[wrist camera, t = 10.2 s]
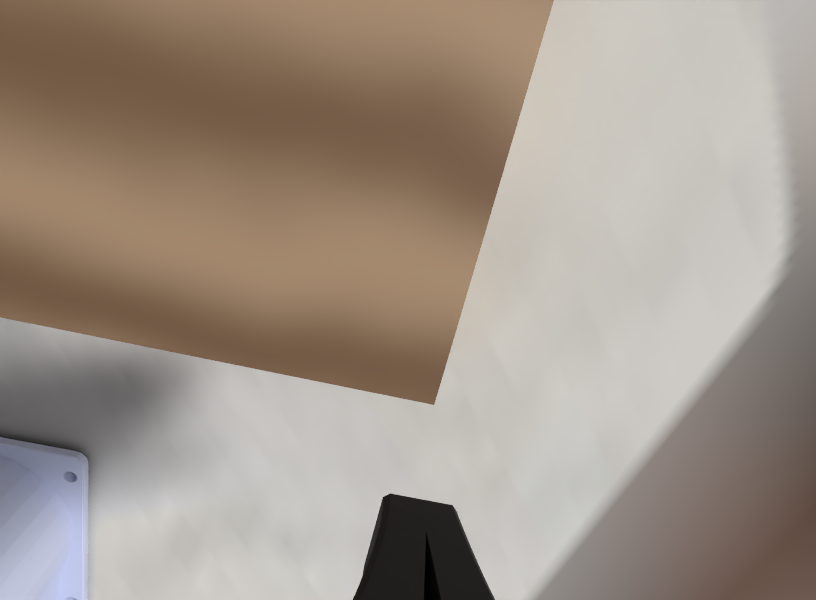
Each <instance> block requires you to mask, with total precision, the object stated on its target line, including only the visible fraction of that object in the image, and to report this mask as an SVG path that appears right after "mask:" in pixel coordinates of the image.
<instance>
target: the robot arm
mask: <svg viewBox="0 0 816 600" xmlns="http://www.w3.org/2000/svg"><path fill="white" fill-rule="evenodd" d="M71 472H72V473H74V474H75V475H74V474H72V473H71ZM0 600H88V460H87V458H86V457H85V455H83V454H82V453H80V452H77V451H73V450H68V449H62V448H57V447H51V446H46V445H40V444H35V443H30V442H24V441H19V440H13V439H8V438H3V437H0ZM353 600H495V599H494V597H493V595H492V593H491V591H490V589H489V587H488V585H487V582H486V580H485V578H484V576H483V574H482V572H481V569H480V567H479V565H478V563H477V560H476V558H475V556H474V553H473V551H472V549H471V547H470V544H469V542H468V539H467V537H466V535H465V532H464V530H463V527H462V525H461V522H460V520H459V517H458V514H457V512H456V510H455V509H454V507H453V506H452V505H448V504H443V503H437V502H432V501H427V500H421V499H416V498H411V497H405V496H400V495H394V494H389V495H387V496H385V497H383V499H382V503H381V507H380V510H379V514H378V518H377V521H376V525H375V529H374V532H373V536H372V540H371V543H370V547H369V550H368V554H367V558H366V561H365V565H364V571H363V577H362V579H361V582H360V584H359V587H358V589H357V592H356V594H355V596H354V598H353Z"/></svg>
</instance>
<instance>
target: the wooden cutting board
mask: <svg viewBox="0 0 816 600" xmlns="http://www.w3.org/2000/svg"><path fill="white" fill-rule="evenodd" d="M553 1H554V0H0V317H2V318H7V319H12V320H17V321H22V322H27V323H32V324H37V325H42V326H47V327H52V328H57V329H62V330H67V331H71V332H76V333H81V334H86V335H91V336H96V337H101V338H106V339H111V340H116V341H121V342H126V343H131V344H136V345H141V346H146V347H151V348H156V349H161V350H166V351H170V352H175V353H180V354H185V355H190V356H195V357H200V358H205V359H210V360H215V361H220V362H225V363H230V364H235V365H240V366H245V367H250V368H255V369H260V370H265V371H269V372H274V373H279V374H284V375H289V376H294V377H299V378H304V379H309V380H314V381H319V382H324V383H329V384H334V385H339V386H344V387H349V388H354V389H359V390H364V391H369V392H373V393H378V394H383V395H388V396H393V397H398V398H403V399H408V400H413V401H418V402H423V403H428V404H433V405H434V403H435V400H436V396H437V393H438V390H439V386H440V383H441V380H442V376H443V373H444V369H445V366H446V363H447V359H448V356H449V352H450V349H451V346H452V342H453V339H454V336H455V332H456V329H457V325H458V322H459V319H460V315H461V312H462V309H463V305H464V302H465V298H466V295H467V292H468V288H469V285H470V281H471V278H472V275H473V271H474V268H475V265H476V261H477V258H478V254H479V251H480V248H481V244H482V241H483V237H484V234H485V231H486V227H487V224H488V221H489V217H490V214H491V210H492V207H493V204H494V200H495V197H496V193H497V190H498V187H499V183H500V180H501V177H502V173H503V170H504V166H505V163H506V160H507V156H508V153H509V150H510V146H511V143H512V139H513V136H514V133H515V129H516V126H517V122H518V119H519V116H520V112H521V109H522V106H523V102H524V99H525V95H526V92H527V89H528V85H529V82H530V78H531V75H532V72H533V68H534V65H535V62H536V58H537V55H538V51H539V48H540V45H541V41H542V38H543V34H544V31H545V28H546V24H547V21H548V18H549V14H550V11H551V7H552V4H553Z"/></svg>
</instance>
